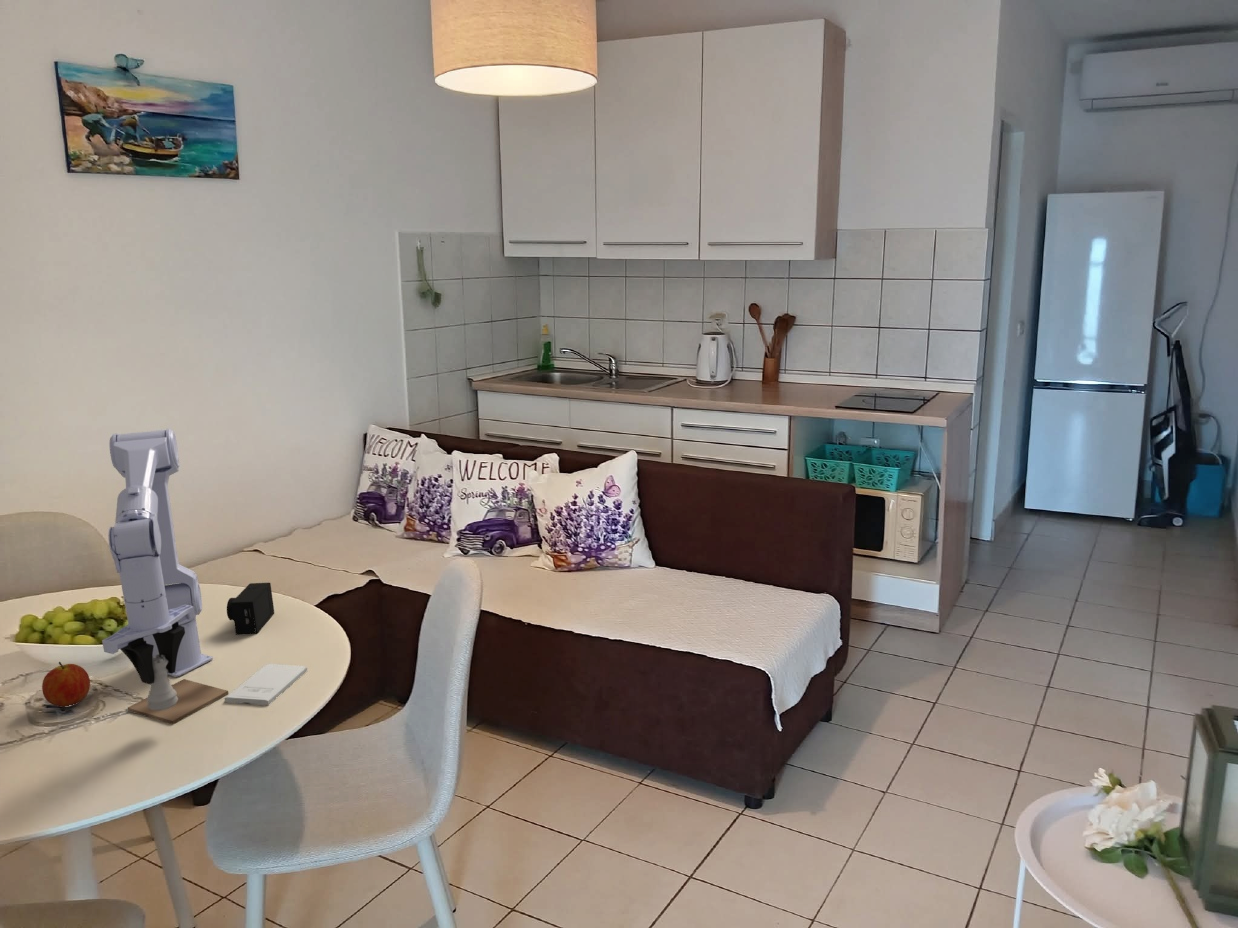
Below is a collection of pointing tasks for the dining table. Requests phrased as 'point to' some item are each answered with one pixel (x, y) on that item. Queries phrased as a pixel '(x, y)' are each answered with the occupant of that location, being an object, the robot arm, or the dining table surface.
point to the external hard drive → (266, 684)
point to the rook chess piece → (161, 687)
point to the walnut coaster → (182, 701)
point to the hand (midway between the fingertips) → (158, 676)
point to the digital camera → (251, 608)
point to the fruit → (66, 685)
